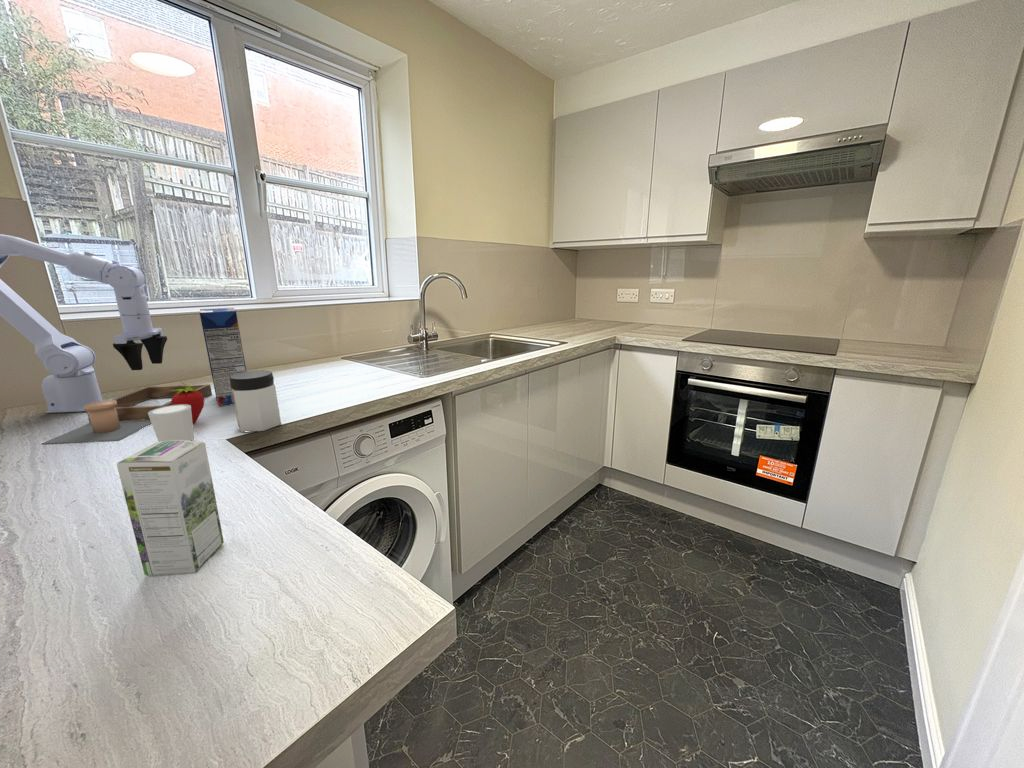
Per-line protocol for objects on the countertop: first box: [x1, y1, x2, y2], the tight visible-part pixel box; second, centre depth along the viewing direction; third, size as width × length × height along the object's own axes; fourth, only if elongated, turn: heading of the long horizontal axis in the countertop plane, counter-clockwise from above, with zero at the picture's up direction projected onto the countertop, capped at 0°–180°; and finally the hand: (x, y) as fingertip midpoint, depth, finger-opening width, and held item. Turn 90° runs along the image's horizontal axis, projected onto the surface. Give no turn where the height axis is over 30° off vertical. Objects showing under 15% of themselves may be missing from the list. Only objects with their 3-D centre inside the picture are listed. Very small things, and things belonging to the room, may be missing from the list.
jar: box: [229, 369, 282, 433], centre depth 92 cm, size 9×8×12 cm
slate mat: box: [41, 419, 152, 445], centre depth 90 cm, size 14×12×1 cm
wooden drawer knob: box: [83, 399, 121, 433], centre depth 90 cm, size 5×5×6 cm
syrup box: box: [116, 440, 225, 577], centre depth 49 cm, size 6×6×14 cm
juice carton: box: [199, 307, 247, 407], centre depth 110 cm, size 12×8×24 cm, turn 35°
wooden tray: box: [86, 383, 213, 423], centre depth 106 cm, size 16×20×3 cm
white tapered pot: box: [148, 404, 195, 442], centre depth 84 cm, size 7×7×7 cm
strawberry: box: [170, 381, 205, 424], centre depth 94 cm, size 6×8×10 cm
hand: (147, 366), depth 109 cm, fingers open, 7 cm apart
